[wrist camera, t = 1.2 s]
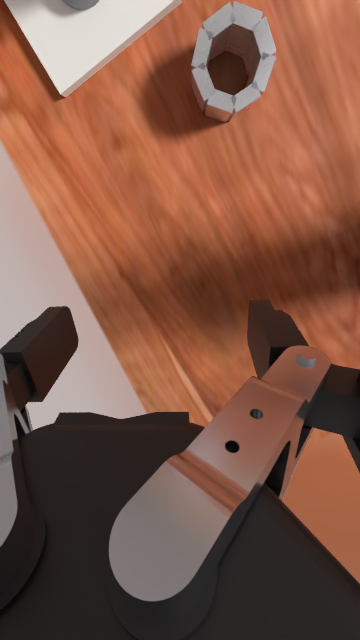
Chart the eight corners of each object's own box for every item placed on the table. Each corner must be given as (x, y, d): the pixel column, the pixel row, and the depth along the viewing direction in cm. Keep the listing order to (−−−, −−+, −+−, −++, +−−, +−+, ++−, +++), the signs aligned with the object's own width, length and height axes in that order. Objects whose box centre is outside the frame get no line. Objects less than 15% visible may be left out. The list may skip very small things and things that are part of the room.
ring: (243, 18, 22) (255, -19, 18) (268, 95, 24) (284, 80, 20) (181, 64, 23) (179, 40, 19) (210, 133, 26) (214, 126, 21)
